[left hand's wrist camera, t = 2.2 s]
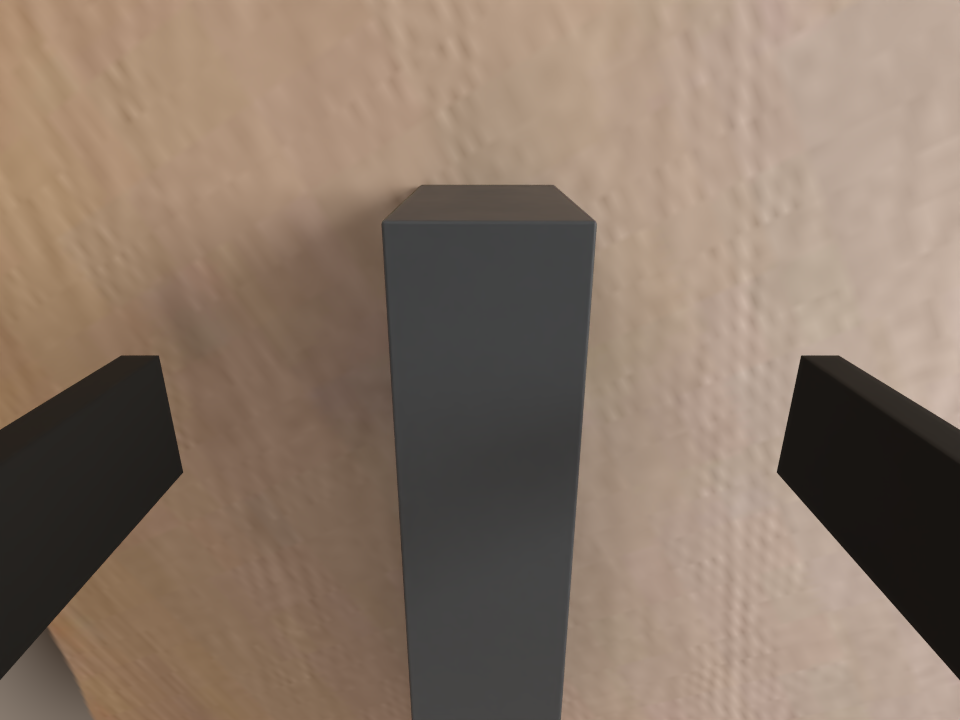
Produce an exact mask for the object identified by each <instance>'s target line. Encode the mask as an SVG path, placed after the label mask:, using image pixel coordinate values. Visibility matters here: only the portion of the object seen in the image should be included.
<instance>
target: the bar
mask: <svg viewBox="0 0 960 720" xmlns="http://www.w3.org/2000/svg"><path fill="white" fill-rule="evenodd" d="M596 228H597V223H596V221H595V220H594V219H592V218H591V217H590V216H589V215H588V214H587V213H585V212H584V211H583V210H582V209H581V208H580V207H579V206H577V205H576V204H575V203H574V202H573V201H572V200H570V199H569V198H568V197H567V196H566V195H565V194H563V193H562V192H561V191H560V190H559V189H558V188H557V187H555V186H554V185H421V186H420V187H419V188H418V189H417V190H416V191H414V192H413V193H412V194H411V195H410V196H409V197H408V198H407V199H406V200H405V201H404V202H403V203H402V204H400V205H399V206H398V207H397V208H396V209H395V210H394V211H393V212H392V213H391V214H390V215H389V216H388V217H386V218H385V219H384V220H383V221H382V239H383V256H384V272H385V288H386V305H387V321H388V337H389V354H390V370H391V387H392V403H393V419H394V436H395V452H396V468H397V485H398V501H399V517H400V534H401V550H402V566H403V583H404V599H405V616H406V632H407V648H408V665H409V681H410V697H411V714H412V720H561V709H562V695H563V681H564V667H565V654H566V640H567V626H568V612H569V599H570V585H571V571H572V558H573V544H574V530H575V516H576V503H577V489H578V475H579V461H580V448H581V434H582V420H583V407H584V393H585V379H586V365H587V352H588V338H589V324H590V310H591V297H592V283H593V269H594V256H595V242H596Z"/></svg>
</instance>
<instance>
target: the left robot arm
mask: <svg viewBox="0 0 960 720" xmlns="http://www.w3.org/2000/svg"><path fill="white" fill-rule="evenodd" d="M182 473H183V469H182V465H181V460H180V455H179V450H178V445H177V441H176V436H175V431H174V426H173V421H172V417H171V412H170V407H169V402H168V397H167V393H166V388H165V383H164V378H163V374H162V369H161V364H160V359H159V356H120V357H118V358H117V359H115V360H113V361H112V362H110V363H108V364H107V365H105V366H103V367H102V368H100V369H99V370H97V371H95V372H94V373H92V374H90V375H89V376H87V377H86V378H84V379H82V380H81V381H79V382H77V383H76V384H74V385H72V386H71V387H69V388H68V389H66V390H64V391H63V392H61V393H59V394H58V395H56V396H55V397H53V398H51V399H50V400H48V401H46V402H45V403H43V404H42V405H40V406H38V407H37V408H35V409H33V410H32V411H30V412H28V413H27V414H25V415H24V416H22V417H20V418H19V419H17V420H15V421H14V422H12V423H11V424H9V425H7V426H6V427H4V428H2V429H1V430H0V680H1V678H2V677H3V676H4V675H5V674H6V673H7V672H8V671H9V669H10V668H11V667H12V666H13V665H14V664H15V663H16V661H17V660H18V659H19V658H20V657H21V656H22V655H23V654H24V652H25V651H26V650H27V649H28V648H29V647H30V646H31V644H32V643H33V642H34V641H35V640H36V639H37V638H38V637H39V635H40V634H41V633H42V632H43V631H44V630H45V629H46V627H47V626H48V625H49V624H50V623H51V622H52V621H53V619H54V618H55V617H56V616H57V615H58V614H59V613H60V612H61V610H62V609H63V608H64V607H65V606H66V605H67V604H68V602H69V601H70V600H71V599H72V598H73V597H74V596H75V595H76V593H77V592H78V591H79V590H80V589H81V588H82V587H83V585H84V584H85V583H86V582H87V581H88V580H89V579H90V578H91V576H92V575H93V574H94V573H95V572H96V571H97V570H98V568H99V567H100V566H101V565H102V564H103V563H104V562H105V560H106V559H107V558H108V557H109V556H110V555H111V554H112V553H113V551H114V550H115V549H116V548H117V547H118V546H119V545H120V543H121V542H122V541H123V540H124V539H125V538H126V537H127V536H128V534H129V533H130V532H131V531H132V530H133V529H134V528H135V526H136V525H137V524H138V523H139V522H140V521H141V520H142V519H143V517H144V516H145V515H146V514H147V513H148V512H149V511H150V509H151V508H152V507H153V506H154V505H155V504H156V503H157V502H158V500H159V499H160V498H161V497H162V496H163V495H164V494H165V492H166V491H167V490H168V489H169V488H170V487H171V486H172V484H173V483H174V482H175V481H176V480H177V479H178V478H179V477H180V475H181V474H182ZM777 473H778V474H779V475H780V477H781V478H782V479H783V480H784V481H785V482H786V483H787V484H788V486H789V487H790V488H791V489H792V490H793V491H794V492H795V494H796V495H797V496H798V497H799V498H800V499H801V500H802V502H803V503H804V504H805V505H806V506H807V507H808V508H809V509H810V511H811V512H812V513H813V514H814V515H815V516H816V517H817V519H818V520H819V521H820V522H821V523H822V524H823V525H824V526H825V528H826V529H827V530H828V531H829V532H830V533H831V534H832V536H833V537H834V538H835V539H836V540H837V541H838V542H839V543H840V545H841V546H842V547H843V548H844V549H845V550H846V551H847V553H848V554H849V555H850V556H851V557H852V558H853V559H854V560H855V562H856V563H857V564H858V565H859V566H860V567H861V568H862V570H863V571H864V572H865V573H866V574H867V575H868V576H869V578H870V579H871V580H872V581H873V582H874V583H875V584H876V585H877V587H878V588H879V589H880V590H881V591H882V592H883V593H884V595H885V596H886V597H887V598H888V599H889V600H890V601H891V602H892V604H893V605H894V606H895V607H896V608H897V609H898V610H899V612H900V613H901V614H902V615H903V616H904V617H905V618H906V619H907V621H908V622H909V623H910V624H911V625H912V626H913V627H914V629H915V630H916V631H917V632H918V633H919V634H920V635H921V637H922V638H923V639H924V640H925V641H926V642H927V643H928V644H929V646H930V647H931V648H932V649H933V650H934V651H935V652H936V654H937V655H938V656H939V657H940V658H941V659H942V660H943V661H944V663H945V664H946V665H947V666H948V667H949V668H950V669H951V671H952V672H953V673H954V674H955V675H956V676H957V677H958V678H959V680H960V430H959V429H958V428H956V427H954V426H953V425H951V424H949V423H948V422H946V421H945V420H943V419H941V418H940V417H938V416H936V415H935V414H933V413H932V412H930V411H928V410H927V409H925V408H923V407H922V406H920V405H918V404H917V403H915V402H914V401H912V400H910V399H909V398H907V397H905V396H904V395H902V394H901V393H899V392H897V391H896V390H894V389H892V388H891V387H889V386H888V385H886V384H884V383H883V382H881V381H879V380H878V379H876V378H874V377H873V376H871V375H870V374H868V373H866V372H865V371H863V370H861V369H860V368H858V367H857V366H855V365H853V364H852V363H850V362H848V361H847V360H845V359H843V358H842V357H840V356H801V359H800V364H799V369H798V373H797V378H796V383H795V388H794V393H793V397H792V402H791V407H790V412H789V417H788V421H787V426H786V431H785V436H784V441H783V445H782V450H781V455H780V460H779V465H778V469H777Z"/></svg>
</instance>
